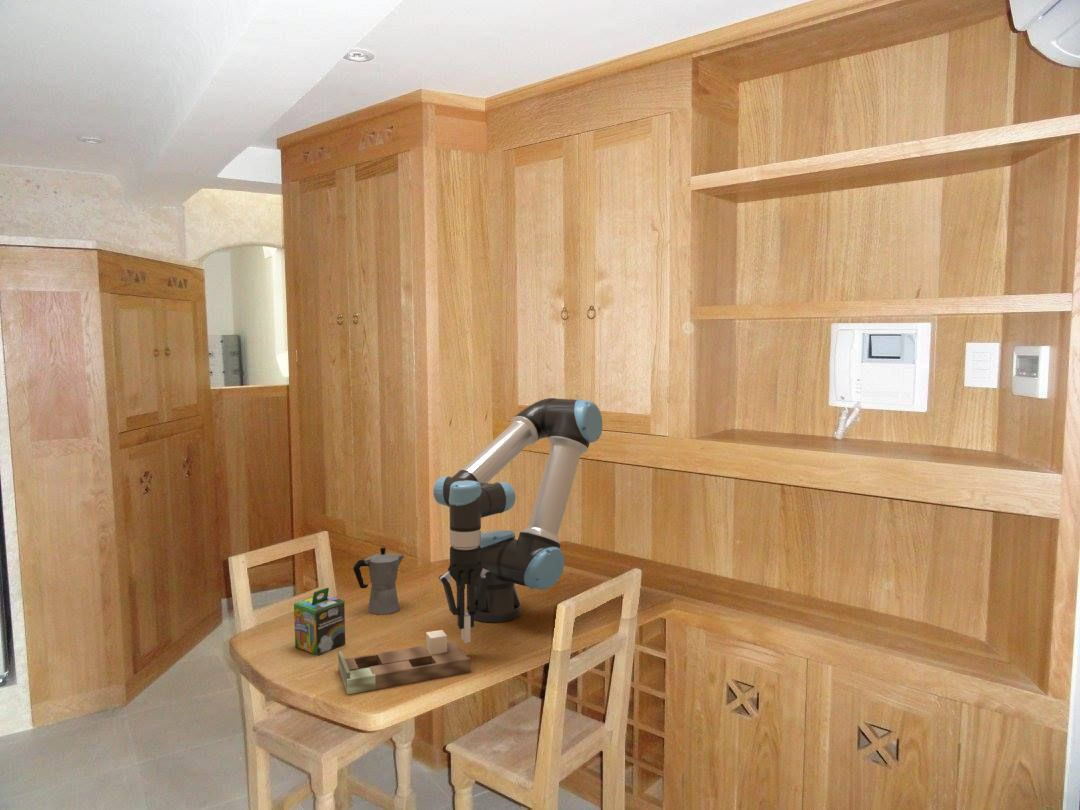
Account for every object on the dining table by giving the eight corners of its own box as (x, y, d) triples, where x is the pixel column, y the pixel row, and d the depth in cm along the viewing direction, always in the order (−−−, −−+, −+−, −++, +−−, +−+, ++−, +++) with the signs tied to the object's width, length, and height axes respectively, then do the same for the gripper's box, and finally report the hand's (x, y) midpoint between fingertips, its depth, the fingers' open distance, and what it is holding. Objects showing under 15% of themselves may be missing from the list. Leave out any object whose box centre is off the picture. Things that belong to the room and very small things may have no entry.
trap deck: (454, 650, 185) (453, 633, 184) (470, 671, 173) (470, 653, 172) (338, 670, 173) (338, 651, 173) (347, 694, 162) (347, 674, 161)
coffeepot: (397, 600, 221) (397, 540, 219) (412, 609, 213) (411, 547, 212) (348, 611, 212) (346, 549, 210) (361, 621, 204) (360, 556, 203)
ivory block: (442, 645, 181) (442, 629, 181) (447, 652, 178) (446, 635, 177) (426, 648, 180) (426, 632, 180) (430, 654, 176) (430, 638, 176)
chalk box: (323, 635, 194) (322, 580, 193) (346, 644, 189) (345, 587, 187) (293, 647, 186) (291, 589, 185) (316, 656, 181) (315, 597, 180)
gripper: (485, 539, 186) (485, 630, 188) (434, 544, 181) (435, 639, 182) (496, 546, 179) (496, 641, 181) (443, 552, 174) (444, 650, 176)
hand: (465, 640), depth 182 cm, fingers closed
